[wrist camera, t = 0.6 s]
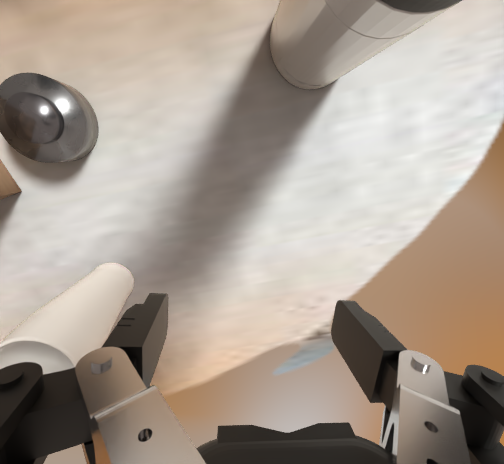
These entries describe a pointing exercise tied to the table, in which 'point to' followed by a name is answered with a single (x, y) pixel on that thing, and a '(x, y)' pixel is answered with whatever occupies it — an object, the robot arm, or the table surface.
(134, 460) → the robot arm
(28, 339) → the white tapered cylinder
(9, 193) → the pedestal
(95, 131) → the round knob
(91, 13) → the table surface
